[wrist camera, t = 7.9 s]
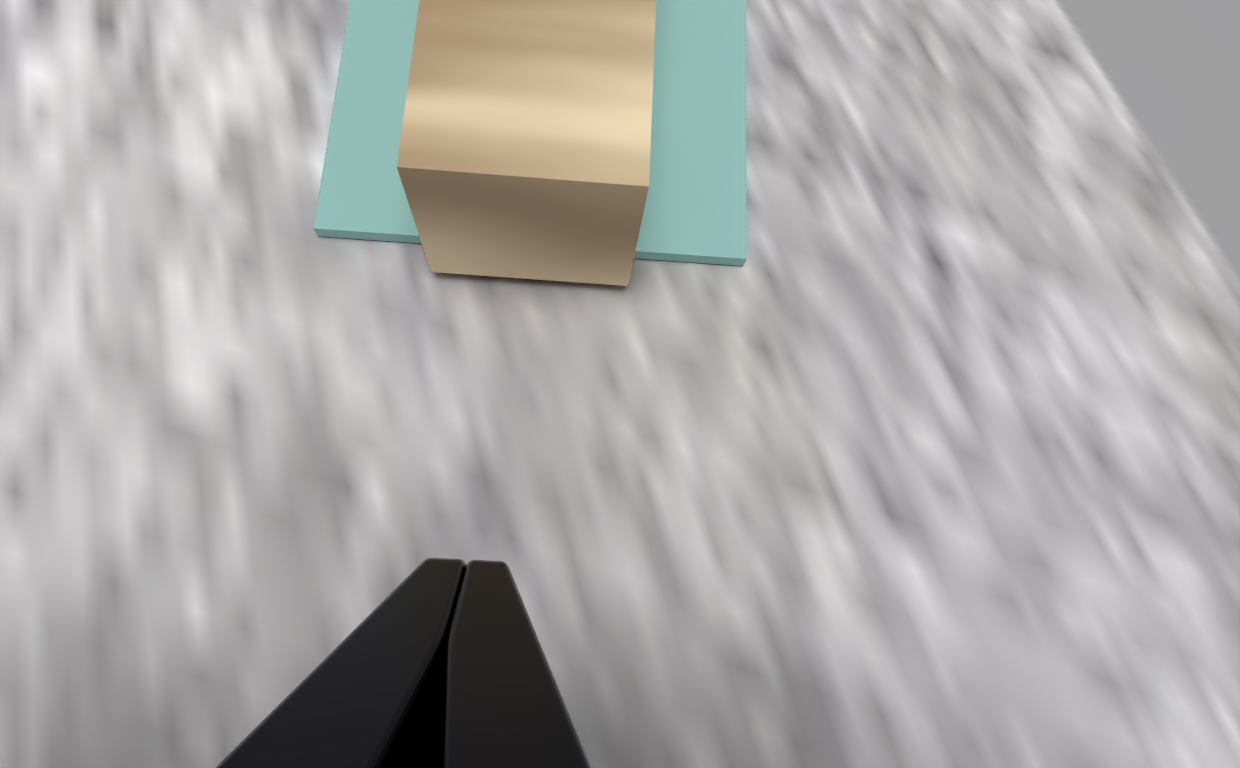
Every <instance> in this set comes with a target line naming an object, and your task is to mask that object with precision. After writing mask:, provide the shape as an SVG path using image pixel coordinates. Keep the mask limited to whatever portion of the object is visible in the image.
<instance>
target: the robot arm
mask: <svg viewBox="0 0 1240 768" xmlns="http://www.w3.org/2000/svg"><path fill="white" fill-rule="evenodd" d="M216 768H591V767H590V764H589V762H588V759H587V757H586V755H585V752H584V750H583V747H582V745H581V742H580V740H579V737H578V735H577V733H576V730H575V728H574V725H573V723H572V720H571V718H570V716H569V713H568V711H567V708H566V706H565V703H564V701H563V698H562V696H561V694H560V691H559V689H558V686H557V684H556V681H555V679H554V677H553V674H552V672H551V669H550V667H549V664H548V662H547V659H546V657H545V655H544V652H543V650H542V647H541V645H540V642H539V640H538V638H537V635H536V633H535V630H534V628H533V625H532V623H531V620H530V618H529V616H528V613H527V611H526V608H525V606H524V603H523V601H522V599H521V596H520V594H519V591H518V589H517V586H516V584H515V581H514V579H513V577H512V574H511V572H510V569H509V567H508V566H507V564H506V563H504V562H502V561H485V560H472V561H470V562H469V563H468V564H467V565H466V564H465V562H464V561H463V560H460V559H445V558H429V559H427V560H425V561H423V562H422V563H421V564H420V565H419V566H418V567H417V568H416V569H415V570H414V571H413V572H412V573H411V574H410V575H409V576H408V577H407V578H406V579H405V580H404V581H403V582H402V583H401V584H400V585H399V586H398V587H397V588H396V589H395V590H394V591H393V592H392V593H391V594H390V595H389V596H388V597H387V598H386V599H385V600H384V601H383V602H382V603H381V604H380V605H379V606H378V607H377V608H376V609H375V610H374V611H373V612H372V613H371V614H370V615H369V616H368V617H367V618H366V619H365V620H364V621H363V622H362V623H361V624H360V625H359V626H358V627H357V628H356V629H355V630H354V631H353V632H352V633H351V634H350V635H349V636H348V637H347V638H346V639H345V640H344V641H343V642H342V643H341V644H340V645H339V646H338V647H337V648H336V649H335V650H334V651H333V652H332V653H331V654H330V655H329V656H328V657H327V658H326V659H325V660H324V661H323V662H322V663H321V664H320V665H319V666H318V667H317V668H316V669H315V670H314V671H313V672H312V673H311V674H310V675H309V676H308V677H307V678H306V679H305V680H304V681H303V682H302V683H301V684H300V685H299V686H298V687H297V688H296V689H294V690H293V691H292V692H291V693H290V694H289V695H288V696H287V697H286V698H285V699H284V700H283V701H282V702H281V703H280V704H279V705H278V706H277V707H276V708H275V709H274V710H273V711H272V712H271V713H270V714H269V715H268V716H267V717H266V718H265V719H264V720H263V721H262V722H261V723H260V724H259V725H258V726H257V727H256V728H255V729H254V730H253V731H252V732H251V733H250V734H249V735H248V736H247V737H246V738H245V739H244V740H243V741H242V742H241V743H240V744H239V745H238V746H237V747H236V748H235V749H234V750H233V751H232V752H231V753H230V754H229V755H228V756H227V757H226V758H225V759H224V760H223V761H222V762H221V763H220V764H219V765H218V766H217V767H216Z"/></svg>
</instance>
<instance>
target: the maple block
mask: <svg viewBox="0 0 1240 768" xmlns="http://www.w3.org/2000/svg"><path fill="white" fill-rule="evenodd" d="M655 18H656V0H419V7H418V14H417V21H416V29H415V36H414V43H413V51H412V58H411V65H410V73H409V80H408V87H407V95H406V102H405V109H404V117H403V124H402V131H401V139H400V146H399V153H398V161H397V170H398V173H399V176H400V179H401V182H402V185H403V188H404V191H405V194H406V197H407V200H408V203H409V206H410V209H411V213H412V216H413V219H414V222H415V225H416V228H417V231H418V234H419V237H420V240H421V243H422V246H423V249H424V252H425V256H426V259H427V262H428V265H429V268H430V271H431V272H438V273H452V274H466V275H480V276H494V277H508V278H522V279H536V280H550V281H565V282H579V283H593V284H607V285H621V286H628V284H629V280H630V275H631V270H632V265H633V261H634V256H635V251H636V246H637V242H638V237H639V232H640V227H641V222H642V218H643V213H644V208H645V203H646V199H647V194H648V189H649V174H650V148H651V122H652V96H653V70H654V44H655Z"/></svg>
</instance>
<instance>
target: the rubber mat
mask: <svg viewBox="0 0 1240 768" xmlns="http://www.w3.org/2000/svg"><path fill="white" fill-rule="evenodd" d="M418 7H419V0H350V6H349V12H348V18H347V24H346V30H345V37H344V43H343V49H342V55H341V61H340V68H339V74H338V80H337V86H336V93H335V99H334V105H333V111H332V117H331V124H330V130H329V136H328V142H327V148H326V155H325V161H324V167H323V173H322V179H321V186H320V192H319V198H318V204H317V211H316V217H315V223H314V230H315V232H316V233H317V235H318V236H321V237H336V238H350V239H364V240H379V241H393V242H407V243H421V240H420V237H419V234H418V231H417V228H416V225H415V222H414V219H413V216H412V213H411V209H410V206H409V203H408V200H407V197H406V194H405V191H404V188H403V185H402V182H401V179H400V176H399V173H398V170H397V161H398V153H399V146H400V139H401V131H402V124H403V117H404V109H405V102H406V95H407V87H408V80H409V73H410V65H411V58H412V51H413V43H414V36H415V29H416V21H417V14H418ZM421 244H422V243H421ZM634 258H636V259H650V260H665V261H679V262H693V263H708V264H722V265H736V266H743V265H744V263H745V261H746V0H656V18H655V44H654V70H653V96H652V122H651V148H650V174H649V189H648V194H647V199H646V203H645V208H644V213H643V218H642V222H641V227H640V232H639V237H638V242H637V246H636V251H635V256H634Z"/></svg>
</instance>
